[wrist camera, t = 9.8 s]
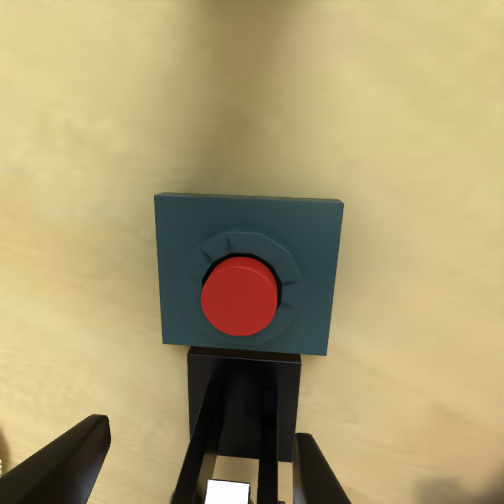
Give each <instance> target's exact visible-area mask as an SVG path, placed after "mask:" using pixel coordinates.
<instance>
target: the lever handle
mask: <svg viewBox="0 0 504 504" xmlns="http://www.w3.org/2000/svg"><path fill="white" fill-rule="evenodd" d="M250 495H251V488H250V483H246V482H237V481H227V480H217V479H208V480H207V487H206V494H205V500H204V504H254V503H253V501H252V500H251V499H250Z"/></svg>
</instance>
